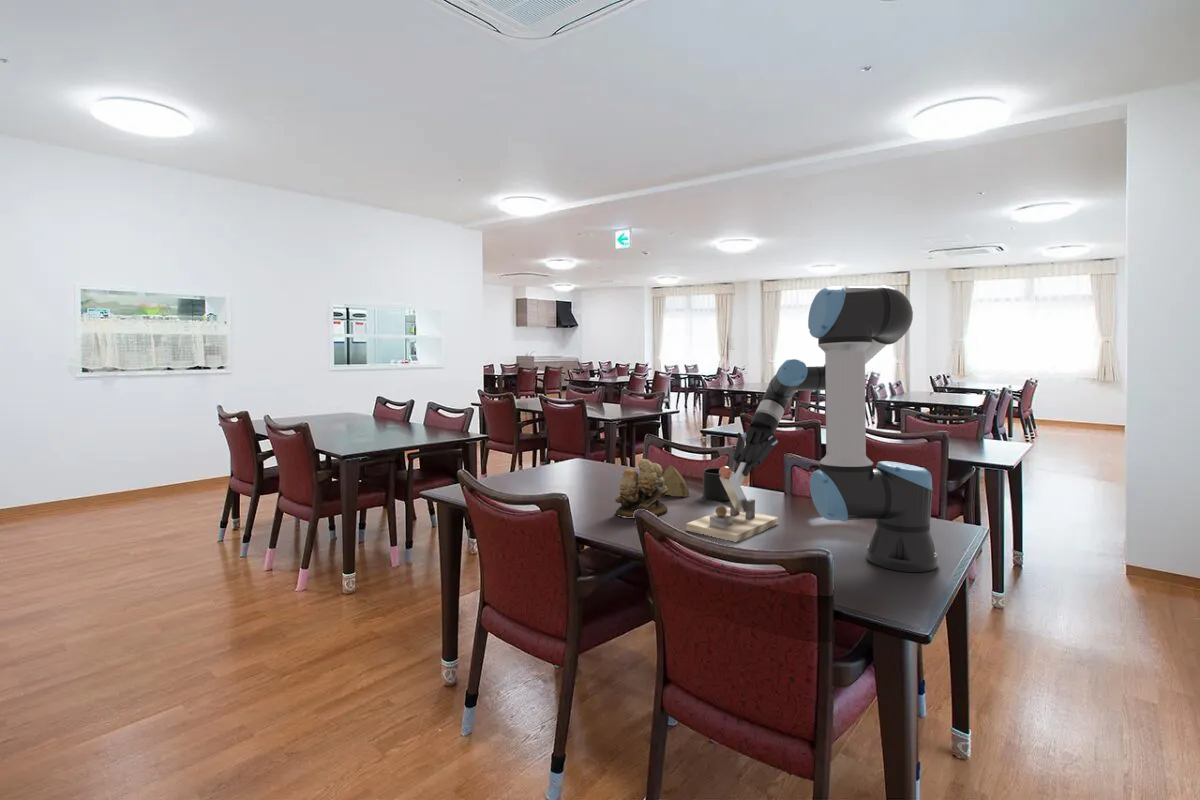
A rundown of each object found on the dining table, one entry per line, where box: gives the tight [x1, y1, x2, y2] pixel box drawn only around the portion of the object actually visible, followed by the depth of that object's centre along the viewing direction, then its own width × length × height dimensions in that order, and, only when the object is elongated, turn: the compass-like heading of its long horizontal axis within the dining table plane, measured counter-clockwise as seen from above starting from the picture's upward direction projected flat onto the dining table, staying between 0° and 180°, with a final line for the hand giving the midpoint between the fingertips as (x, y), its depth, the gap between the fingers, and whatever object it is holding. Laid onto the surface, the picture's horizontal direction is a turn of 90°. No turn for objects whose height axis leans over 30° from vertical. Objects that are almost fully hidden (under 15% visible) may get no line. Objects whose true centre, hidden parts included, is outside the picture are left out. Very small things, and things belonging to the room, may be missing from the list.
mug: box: [702, 467, 730, 502], centre depth 205 cm, size 9×12×9 cm
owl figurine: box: [614, 458, 668, 517], centre depth 189 cm, size 18×12×17 cm, turn 119°
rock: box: [662, 464, 690, 498], centre depth 210 cm, size 11×9×10 cm
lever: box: [719, 465, 748, 513], centre depth 173 cm, size 4×4×17 cm
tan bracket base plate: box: [686, 498, 779, 542], centre depth 174 cm, size 22×16×7 cm
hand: (736, 483), depth 174 cm, fingers closed
